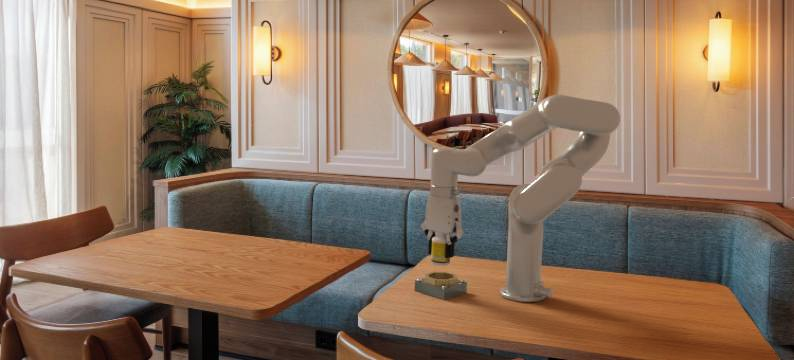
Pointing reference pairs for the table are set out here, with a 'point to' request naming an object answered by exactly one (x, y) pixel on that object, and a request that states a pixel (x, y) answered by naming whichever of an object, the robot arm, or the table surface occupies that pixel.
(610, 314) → the table surface
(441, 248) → the supplement bottle
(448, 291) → the octagonal bottle holder
